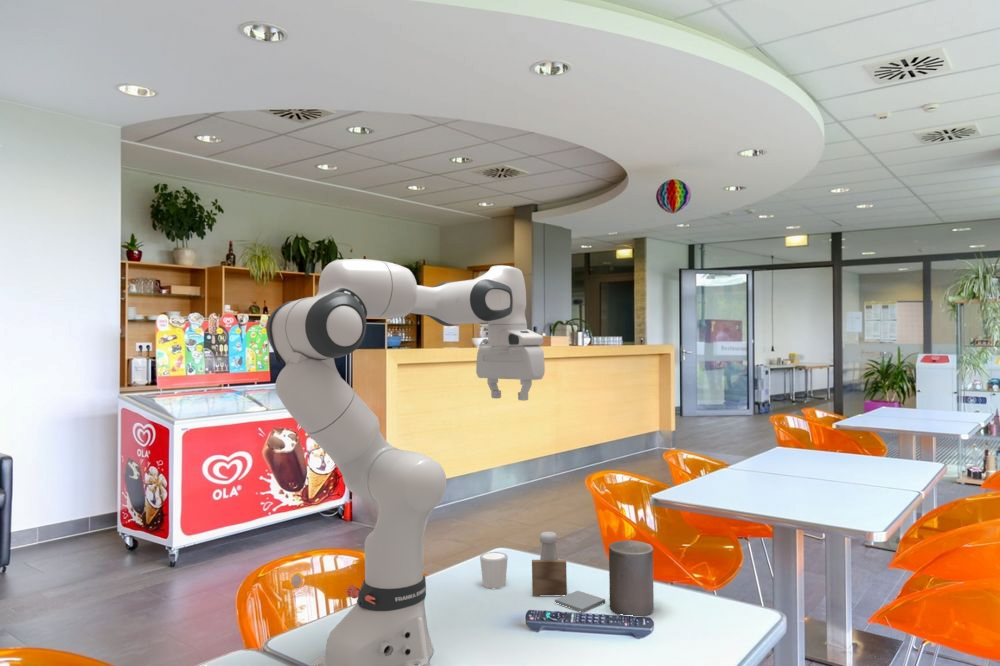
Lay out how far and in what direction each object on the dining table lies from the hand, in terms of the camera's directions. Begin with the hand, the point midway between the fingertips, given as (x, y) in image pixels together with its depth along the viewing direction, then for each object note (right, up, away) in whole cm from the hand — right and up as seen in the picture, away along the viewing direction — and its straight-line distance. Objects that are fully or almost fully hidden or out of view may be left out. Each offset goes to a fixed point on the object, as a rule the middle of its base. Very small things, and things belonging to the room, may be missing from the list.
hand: (509, 399), depth 154 cm
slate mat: (+16, -46, +1) cm, 49 cm away
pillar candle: (+27, -46, -3) cm, 53 cm away
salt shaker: (+10, -47, +11) cm, 49 cm away
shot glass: (-4, -47, +14) cm, 49 cm away
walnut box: (+9, -46, +6) cm, 48 cm away
